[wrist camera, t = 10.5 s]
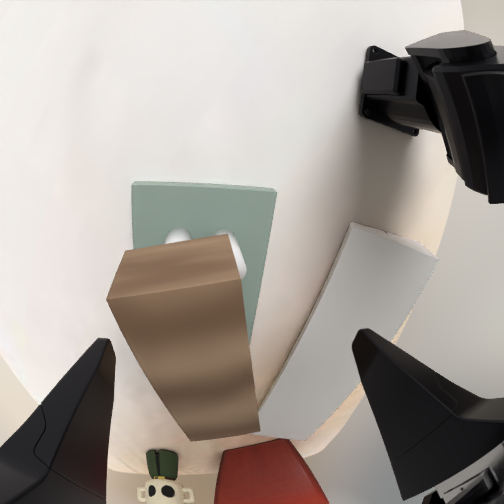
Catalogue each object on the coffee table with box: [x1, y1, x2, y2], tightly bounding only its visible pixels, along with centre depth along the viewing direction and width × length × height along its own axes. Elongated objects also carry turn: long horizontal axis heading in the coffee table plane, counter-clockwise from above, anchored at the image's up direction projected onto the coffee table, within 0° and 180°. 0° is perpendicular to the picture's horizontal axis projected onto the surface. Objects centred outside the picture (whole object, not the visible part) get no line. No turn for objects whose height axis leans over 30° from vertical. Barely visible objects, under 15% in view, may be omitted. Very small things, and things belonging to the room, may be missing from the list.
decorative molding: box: [249, 222, 439, 441], centre depth 30 cm, size 34×5×10 cm
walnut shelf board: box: [106, 234, 261, 441], centre depth 17 cm, size 16×6×4 cm, turn 5°
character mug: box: [137, 450, 195, 504], centre depth 33 cm, size 11×7×13 cm, turn 93°
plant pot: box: [214, 438, 329, 504], centre depth 38 cm, size 19×19×17 cm
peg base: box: [132, 182, 277, 345], centre depth 21 cm, size 10×20×5 cm, turn 173°
